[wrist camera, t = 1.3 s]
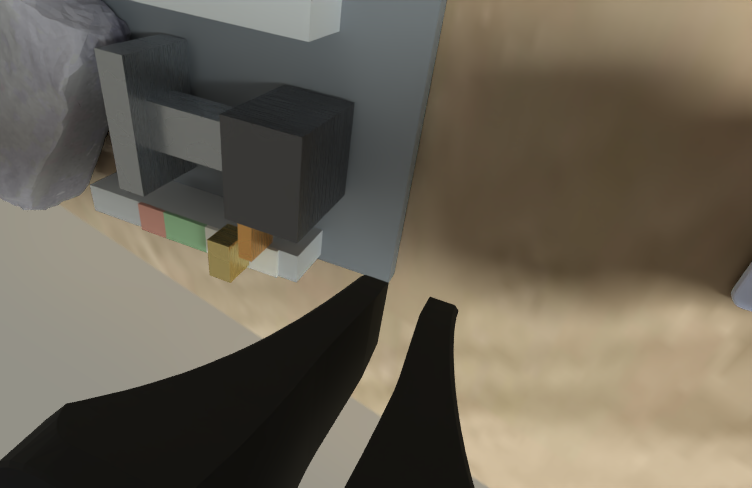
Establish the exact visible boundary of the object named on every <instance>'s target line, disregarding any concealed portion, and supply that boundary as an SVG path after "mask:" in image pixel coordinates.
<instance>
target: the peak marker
mask: <svg viewBox="0 0 752 488" xmlns="http://www.w3.org/2000/svg"><path fill="white" fill-rule="evenodd" d="M207 246H208V259H209V272H210V275H211V276H213V277H216V278H219V279H221V280H224V281H227V282H230V283H231V282H232V281H233V280H234V279H235V278H236V277H237V276H238V275H239V274H240V273H241V272H242V271H243V270H245V269H246V268H247V267H248V266H249V261H248V260H245V259H242V258H239V255H238V227H237V226H234V225H231V224H227V225H225V226H224V227H223V228H221V229H220V230H219V231H218V232H216V233H215V234H214V235H212V236H211V237H210V238H208V239H207Z"/></svg>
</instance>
